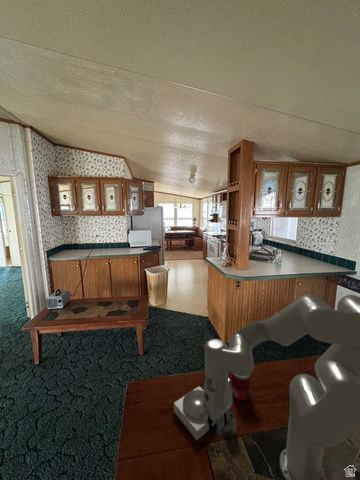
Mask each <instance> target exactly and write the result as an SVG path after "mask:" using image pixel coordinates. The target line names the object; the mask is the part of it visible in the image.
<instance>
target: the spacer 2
mask: <svg viewBox="0 0 360 480" xmlns="http://www.w3.org/2000/svg"><path fill="white" fill-rule="evenodd" d="M226 415H227V425H226V426H225V425H224V426H225V430H224V433H223V434H224V435H225V436H226V437H227V438H231V439H232V438H235V436H236V433H237V432H236V431H237V415H236V414H235V413H234V412H232V411H228V413H227V414H226Z"/></svg>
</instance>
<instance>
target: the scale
mask: <svg viewBox="0 0 360 480" xmlns="http://www.w3.org/2000/svg"><path fill="white" fill-rule="evenodd" d="M193 390H201V391H204V388H202V387H201V386H200V385H199V386H197V387H195V388H194V389H192V390H191V391H193ZM184 397H185V395H183V396H182V397H180V398H179V399H178V400H176V401H174V402H173V412H174V414H175V415H176V417H178V419H179V420H180V421H181V423H183V425H184V426H185V428H186V429H187V430H188V432H189V433H190V434H191V435H192V437H193V438H194V439H195V440H196V441H199V439H201V438H202V437H203V436H204V435H205V434H206V433H208V432H210V430H209V424H208V423H203V422H202V421H201V420H198V419H194V418H191V417H190V416H189V415H187V414H186V412H185V411H184V408H183V399H184Z"/></svg>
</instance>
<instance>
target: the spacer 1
mask: <svg viewBox="0 0 360 480" xmlns="http://www.w3.org/2000/svg"><path fill="white" fill-rule="evenodd" d="M215 423H216V424H217V435H216V436H222V435H223V434H225V433H224V430H225V426H224V414H223V415H222V416H221V417H220V418H218V419H217V420H216V422H215Z"/></svg>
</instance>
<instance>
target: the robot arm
mask: <svg viewBox="0 0 360 480" xmlns="http://www.w3.org/2000/svg"><path fill="white" fill-rule="evenodd" d="M336 307H337V308H336V309H333V308H332V307H331V306H330V305H329V304H327V302H325V301H324V300H323V299H322V298H320V297H319V296H317V295H314V294H305V295H302V296H300V297H299V298H297V299H296V300H294V301H292V302H291V303H289V304H287V305H286V306H285V307H283V308H282V309H281V310H279V311H278V312H277V313H274V314H273V315H272V316H271V317H269V318H266V319H262V320H261V319H260V320H258V321H253V322H251V323H248V324H247V325H244V326H243V327H241V328H240V329H239V330H237V331H236V332H234V333H233V334H232V336H231V337H230V339H229V340H228V345H227V344H226V342H225V341H224V340H221V339H219V338H210V339H209V340H207V341H206V342H205V344H204V372H205V373H204V374H205V376H204V377H205V378H204V379H205V381H204V382H203V385H204V387H203V390H204V394H203V410H204V412H203V415H202V418H201V421H202V422H203V423H208V424H209V432H210V433H212V434H213V435H214V436H218V435H217V424H216V423H215V422H216V420H217V419H218V418H220V417H221V416H222V415H223V414H224V425H225V426H226V425H227V415H226V414H227V413H228V412H229V410H230V409H231V408H232V406H233V402H234V401H233V395H232V388H231V379H230V378H229V373H231V374H232V373H233V374H236V375H239V376H248V375H250V376H251V374H252V373H253V371H254V368H255V367H254V357H253V349H254V348H255V347H256V346H258V345H259V344H261V343H263V342H266V341H273V342H276V343H278V344H279V345H281V346H283V347H288V346H290V345H292V344H293V343H295V342H297V341H298V340H299V339H301V338H303V337H305V336H306V335H307V334H308V335H309V336H310V337H311V338H313V339H314V340H316V341H319V342H322V343H327V344H331V345H330V346H329V348H327V349H326V350H325V352H324V353H323V354H322V355H321V356H320V357H319V358H318V359H317V361H316V362H315V364H314V372H315V374H316V377H317V378H315V377H314V376H312V375H309V374H307V373H299V374H297V375H295V376H294V377H293V378H292V379H291V381H290V384H289V391H288V392H289V414H288V415H289V418H288V426H287V434H286V435H287V437H286V447H285V448H284V449H283V450H282V451H281V453H280V455H279V467H280V471H281V473H282V476H283V477H284V479H285V480H328V479H327V476H326V475H325V468H323V466H322V465H323V456H324V449H325V448H331V447H334V446H337V445H338V444H340V443H342V442H343V441H344V440H345V439H347V438H348V437H349V436H350V435H351V434H352V433H354V432H355V431H356V430H357V429H358V428H359V427H360V296H358V295H354V294H346V295H344V296H342V297H341V298H340V299H339V301H338V303H337V305H336Z"/></svg>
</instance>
